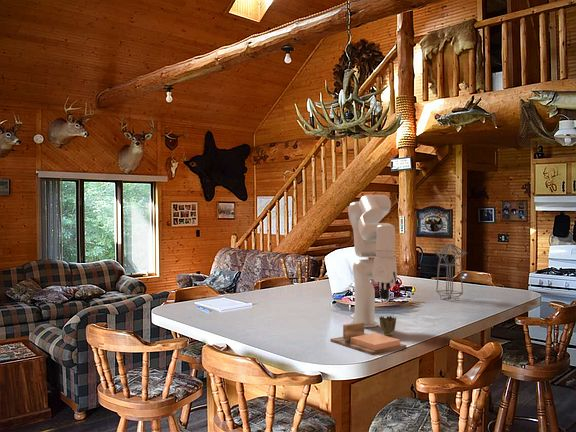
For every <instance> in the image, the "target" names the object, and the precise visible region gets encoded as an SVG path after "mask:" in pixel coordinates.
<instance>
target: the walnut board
mask: <svg viewBox="0 0 576 432" xmlns="http://www.w3.org/2000/svg"><path fill="white" fill-rule="evenodd" d="M342 325H343V326H342V336H338V337H333V338H330V339H329V340H330V342H332V343H334V344H338V345H341V346H344V347H347V348H350V349H353V350H356V351H360V352H362V353H365V354H369V355H371V356H374V355H378V354H384V353H388V352H392V350H393V351H397V350H396V349H398V350H401V349H400V348H402V349H405V348H407V344H404V343H401V342H400V345H399V346H394V347H389V348H385V349H380V350H372V349H368V348H365V347H362V346H359V345H356V344H352V343H351V337H356V336H362V335H367V334H368V333H365V328H364V323H363V322H357V323H346V324H342ZM376 333H377V332H376ZM377 334H380V333H377Z"/></svg>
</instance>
